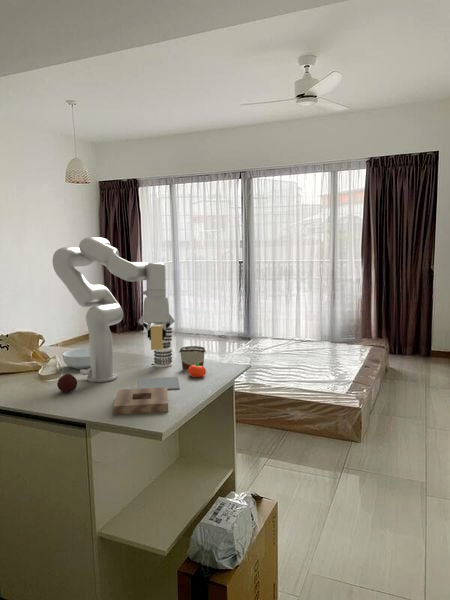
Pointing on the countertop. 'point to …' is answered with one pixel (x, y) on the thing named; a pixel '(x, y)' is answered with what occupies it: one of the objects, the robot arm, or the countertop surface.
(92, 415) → the countertop surface
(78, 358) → the cereal bowl
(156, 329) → the ochre block
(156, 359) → the decorative candle
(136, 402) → the walnut cradle
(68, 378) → the dark maroon ball
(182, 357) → the food container
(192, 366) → the pumpkin
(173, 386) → the grey mat
